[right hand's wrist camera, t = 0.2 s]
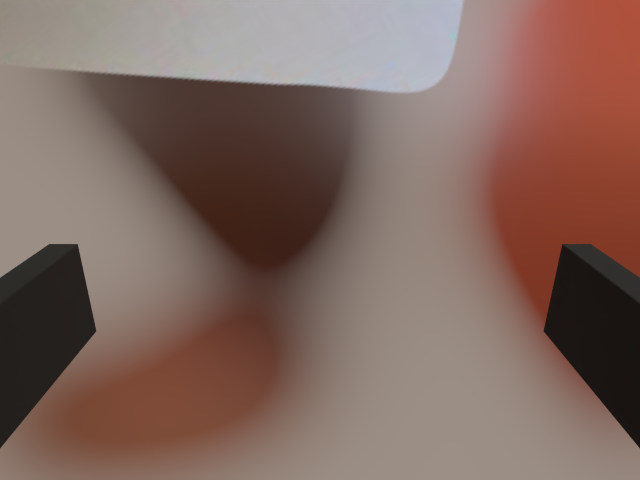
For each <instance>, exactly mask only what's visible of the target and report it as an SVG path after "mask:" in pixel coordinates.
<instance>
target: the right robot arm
mask: <svg viewBox="0 0 640 480" xmlns="http://www.w3.org/2000/svg"><path fill="white" fill-rule="evenodd" d="M95 332H96V328H95V323H94V318H93V314H92V309H91V304H90V300H89V295H88V290H87V286H86V281H85V276H84V272H83V267H82V262H81V258H80V253H79V248H78V244H49V245H47V246H46V247H44V248H43V249H42V250H40V251H39V252H37V253H36V254H34V255H33V256H31V257H30V258H28V259H27V260H26V261H24V262H23V263H21V264H20V265H18V266H17V267H15V268H14V269H12V270H11V271H10V272H8V273H7V274H5V275H4V276H2V277H1V278H0V448H1V447H2V445H3V444H4V443H5V442H6V441H7V439H8V438H9V437H10V436H11V434H12V433H13V432H14V431H15V429H16V428H17V427H18V426H19V425H20V423H21V422H22V421H23V420H24V418H25V417H26V416H27V415H28V414H29V412H30V411H31V410H32V409H33V408H34V406H35V405H36V404H37V403H38V401H39V400H40V399H41V398H42V397H43V395H44V394H45V393H46V392H47V391H48V389H49V388H50V387H51V386H52V384H53V383H54V382H55V381H56V380H57V378H58V377H59V376H60V375H61V373H62V372H63V371H64V370H65V369H66V367H67V366H68V365H69V364H70V363H71V361H72V360H73V359H74V358H75V356H76V355H77V354H78V353H79V351H80V350H81V349H82V348H83V347H84V345H85V344H86V343H87V342H88V341H89V339H90V338H91V337H92V336H93V335H94V333H95ZM544 332H545V333H546V334H547V336H548V337H549V338H550V339H551V341H552V342H553V343H554V344H555V345H556V347H557V348H558V349H559V350H560V352H561V353H562V354H563V355H564V356H565V358H566V359H567V360H568V361H569V363H570V364H571V365H572V366H573V367H574V369H575V370H576V371H577V372H578V373H579V375H580V376H581V377H582V378H583V380H584V381H585V382H586V383H587V384H588V386H589V387H590V388H591V389H592V391H593V392H594V393H595V394H596V395H597V397H598V398H599V399H600V400H601V402H602V403H603V404H604V405H605V406H606V408H607V409H608V410H609V411H610V412H611V414H612V415H613V416H614V417H615V419H616V420H617V421H618V422H619V423H620V425H621V426H622V427H623V428H624V430H625V431H626V432H627V433H628V434H629V436H630V437H631V438H632V439H633V440H634V442H635V443H636V444H637V445H638V447H639V448H640V278H639V277H638V276H636V275H635V274H633V273H632V272H630V271H629V270H628V269H626V268H625V267H623V266H622V265H620V264H619V263H617V262H616V261H614V260H613V259H612V258H610V257H609V256H607V255H606V254H604V253H603V252H601V251H600V250H598V249H597V248H595V247H594V246H593V245H591V244H563V245H562V248H561V253H560V258H559V262H558V267H557V272H556V276H555V281H554V286H553V290H552V295H551V300H550V304H549V309H548V314H547V318H546V323H545V328H544Z"/></svg>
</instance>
